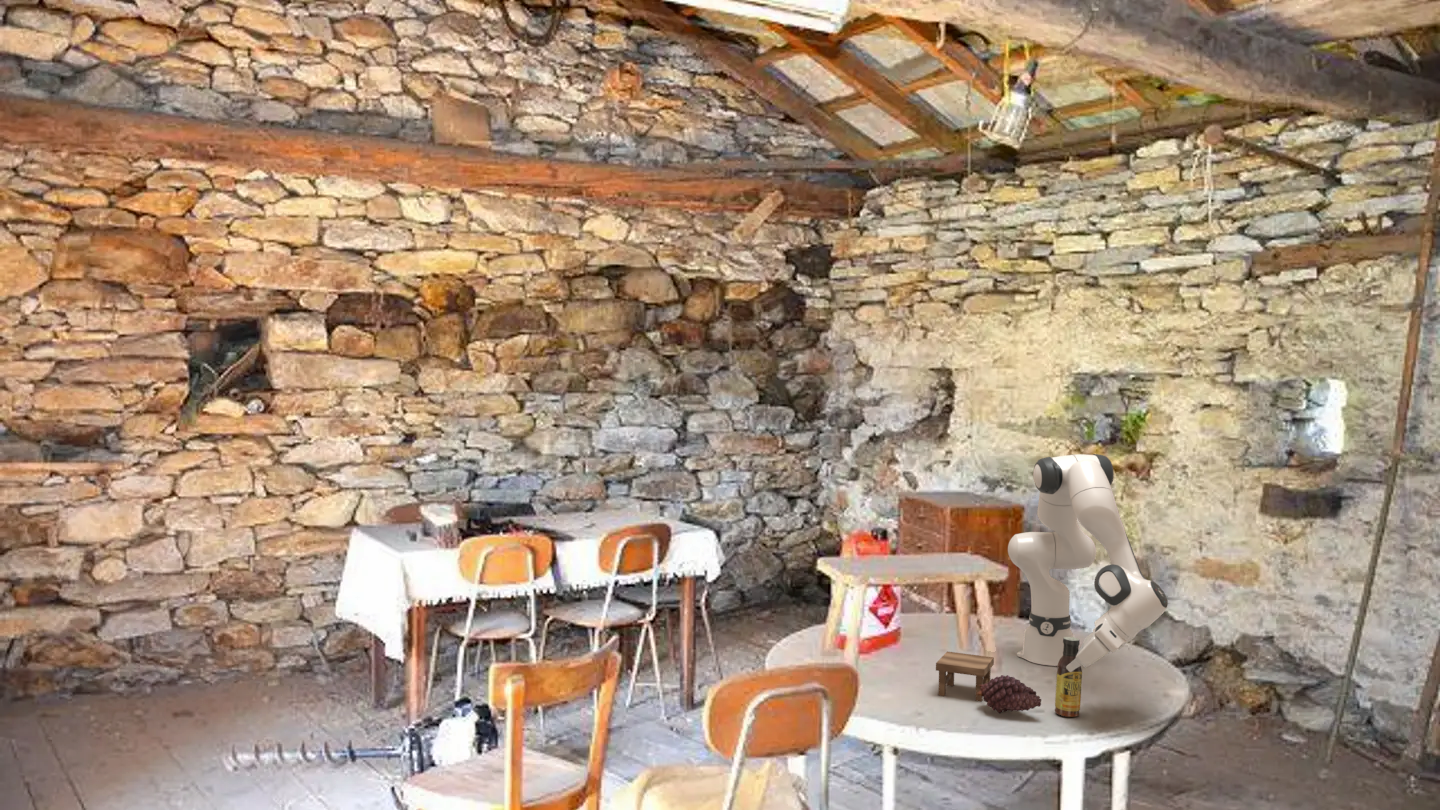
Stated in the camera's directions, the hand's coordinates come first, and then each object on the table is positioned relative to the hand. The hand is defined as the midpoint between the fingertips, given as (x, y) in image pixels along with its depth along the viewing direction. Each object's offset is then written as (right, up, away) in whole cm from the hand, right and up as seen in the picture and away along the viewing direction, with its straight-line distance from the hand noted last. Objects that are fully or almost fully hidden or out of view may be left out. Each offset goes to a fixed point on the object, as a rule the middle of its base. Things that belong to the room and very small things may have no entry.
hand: (1070, 664), depth 283 cm
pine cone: (-16, -13, +1) cm, 21 cm away
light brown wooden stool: (-23, -12, +18) cm, 32 cm away
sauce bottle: (-1, -13, +1) cm, 13 cm away
